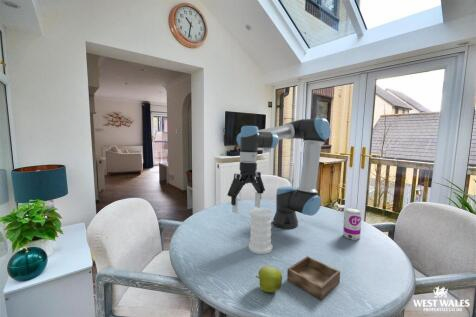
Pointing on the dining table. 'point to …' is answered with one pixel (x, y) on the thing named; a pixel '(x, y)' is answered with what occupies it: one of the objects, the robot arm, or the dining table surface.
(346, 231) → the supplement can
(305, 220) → the dining table surface
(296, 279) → the walnut box
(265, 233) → the decorative container
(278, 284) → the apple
